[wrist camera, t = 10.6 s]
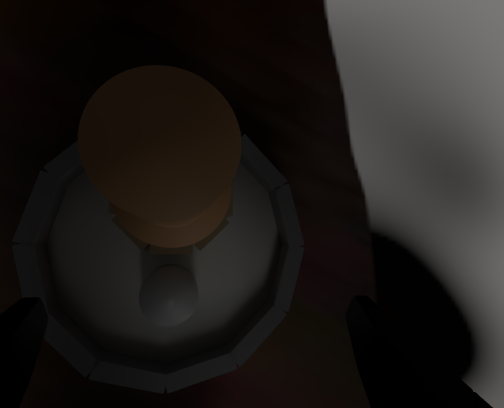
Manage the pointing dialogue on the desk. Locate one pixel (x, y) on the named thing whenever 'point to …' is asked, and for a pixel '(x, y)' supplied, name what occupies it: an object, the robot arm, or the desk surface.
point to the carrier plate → (125, 266)
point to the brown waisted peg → (161, 153)
